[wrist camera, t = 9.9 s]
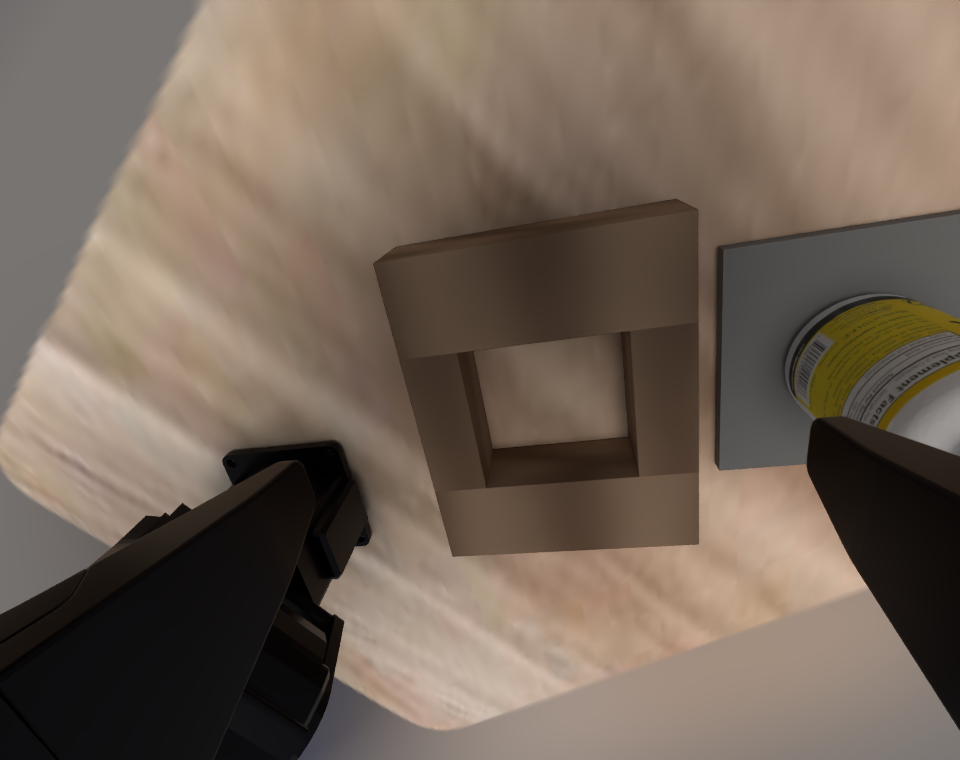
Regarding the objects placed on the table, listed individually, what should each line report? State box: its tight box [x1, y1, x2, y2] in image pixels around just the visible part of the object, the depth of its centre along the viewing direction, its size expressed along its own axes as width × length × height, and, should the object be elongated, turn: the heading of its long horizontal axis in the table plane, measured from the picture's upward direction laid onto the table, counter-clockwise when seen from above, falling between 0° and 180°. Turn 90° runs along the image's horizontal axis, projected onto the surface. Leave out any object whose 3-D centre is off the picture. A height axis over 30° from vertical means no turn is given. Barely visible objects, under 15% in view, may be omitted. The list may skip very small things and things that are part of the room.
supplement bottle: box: [785, 294, 960, 456], centre depth 15 cm, size 5×5×10 cm
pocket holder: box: [373, 199, 699, 557], centre depth 21 cm, size 11×14×3 cm
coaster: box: [715, 210, 960, 471], centre depth 20 cm, size 10×10×1 cm
